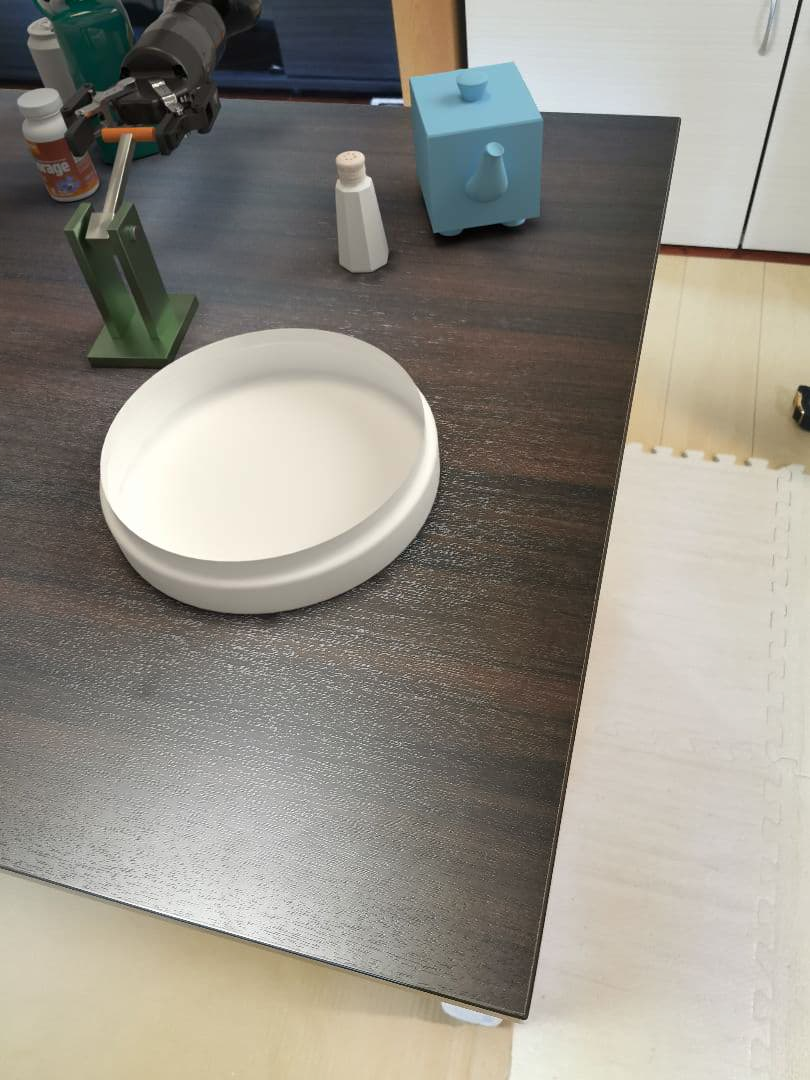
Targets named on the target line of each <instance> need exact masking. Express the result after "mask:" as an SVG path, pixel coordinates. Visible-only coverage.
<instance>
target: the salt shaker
mask: <svg viewBox="0 0 810 1080" xmlns="http://www.w3.org/2000/svg"><path fill="white" fill-rule="evenodd" d="M365 161H366V157H365V154H363V153H362V152H361V151H357V150H347V151H344V152H341V153H340V154H338V155H337V156H336V158H335V165H336V167H337V174H338V176H339V177H338V178H337V180H336V184H335V187H334V188H335V189H334V190H335V211H336V227H337V228H336V229H337V230H336V231H337V246H338V247H337V248H338V260H339V265H340V266H341V267H342V268H344V269H345V270H347V271H348V272H350V273H354V274H356V273H357V274H358V273H359V274H360V273H372V272H375V271H376V270H378V269H379V268H381V267H384V266H385V265H386V264H387V263H388V259H389V251H390V250H389V246H388V240H387V237H386V233H385V229H384V224H383V220H382V216H381V211H380V207H379V203H378V198H377V195H376V190H375V186H374V182H373V179H372V177H370V176H369V175H367V173H366V171H367V170H366V164H365Z"/></svg>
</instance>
